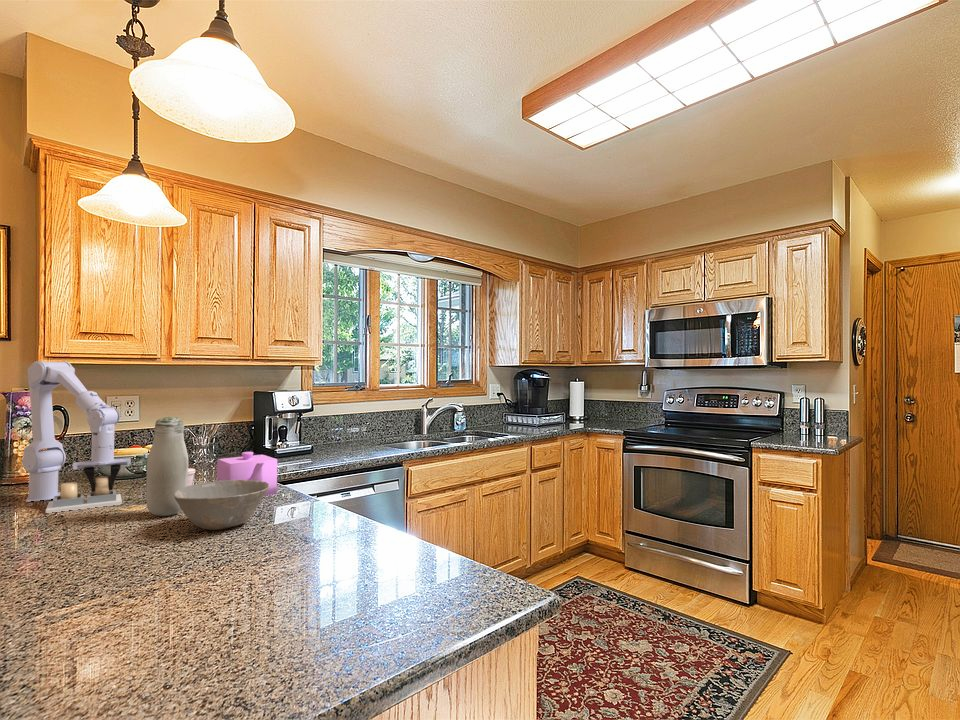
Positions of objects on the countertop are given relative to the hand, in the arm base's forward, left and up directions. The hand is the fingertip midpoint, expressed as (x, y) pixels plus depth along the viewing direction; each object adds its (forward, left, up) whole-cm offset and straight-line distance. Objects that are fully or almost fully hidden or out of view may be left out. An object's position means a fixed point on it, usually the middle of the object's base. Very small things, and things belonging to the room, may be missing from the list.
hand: (101, 490), depth 162 cm
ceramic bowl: (+47, +26, -4) cm, 54 cm away
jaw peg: (0, 0, -2) cm, 2 cm away
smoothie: (+11, +21, -4) cm, 24 cm away
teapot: (+13, +40, -4) cm, 42 cm away
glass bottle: (+27, +15, -4) cm, 31 cm away
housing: (0, -4, -4) cm, 6 cm away
